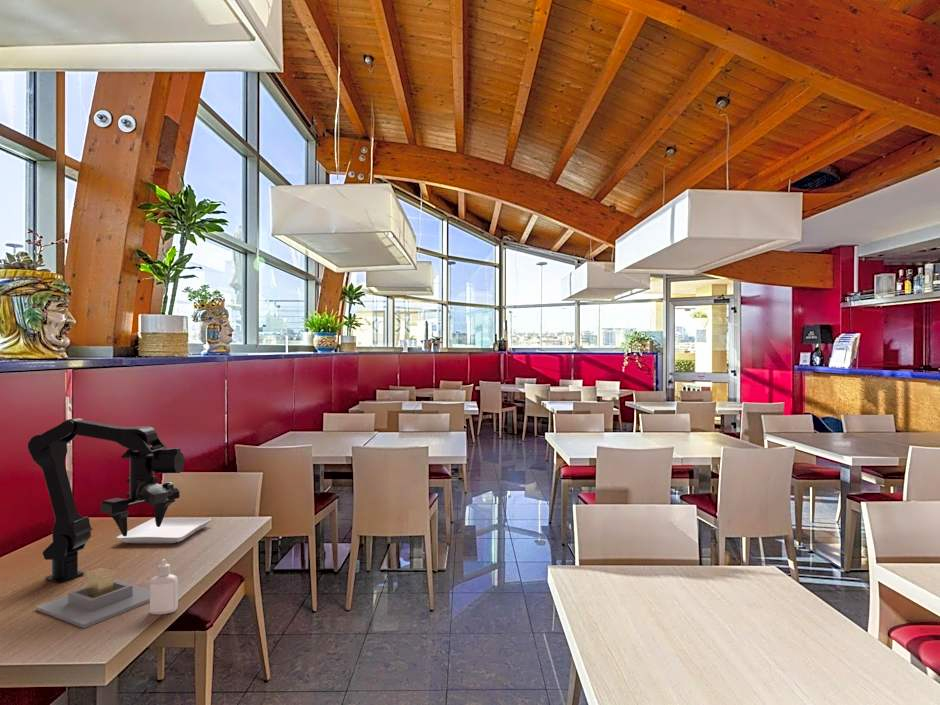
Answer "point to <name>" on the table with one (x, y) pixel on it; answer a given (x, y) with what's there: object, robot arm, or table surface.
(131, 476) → the robot arm
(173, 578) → the eye dropper bottle
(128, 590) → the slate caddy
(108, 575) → the wooden lipped block
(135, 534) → the salad plate
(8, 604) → the table surface
